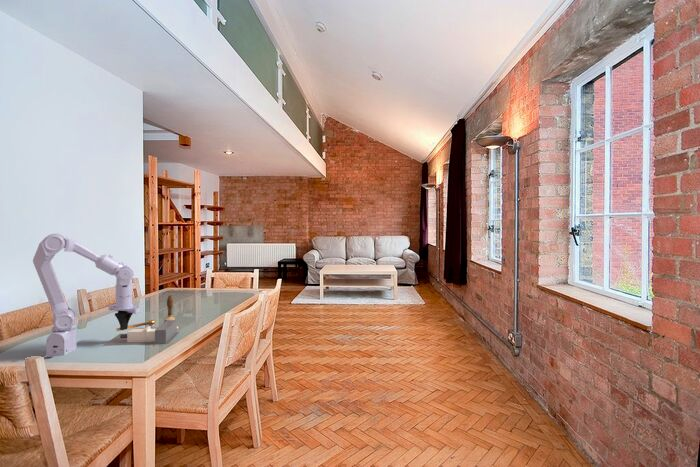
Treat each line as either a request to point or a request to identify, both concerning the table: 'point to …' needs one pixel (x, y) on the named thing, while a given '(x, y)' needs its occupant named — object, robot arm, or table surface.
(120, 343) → the grey base plate
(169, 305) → the hand bell
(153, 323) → the ball-topped lever
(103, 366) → the table surface
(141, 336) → the plug
